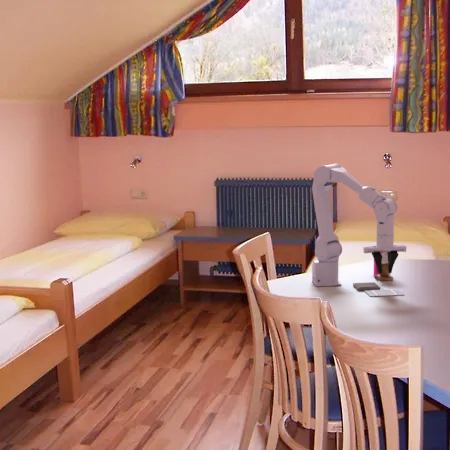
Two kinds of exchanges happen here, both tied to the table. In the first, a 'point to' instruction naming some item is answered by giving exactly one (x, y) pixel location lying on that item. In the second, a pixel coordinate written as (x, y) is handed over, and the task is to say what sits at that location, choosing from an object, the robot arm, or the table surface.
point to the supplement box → (384, 259)
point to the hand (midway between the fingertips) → (384, 272)
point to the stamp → (384, 273)
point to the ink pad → (366, 286)
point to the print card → (384, 293)
